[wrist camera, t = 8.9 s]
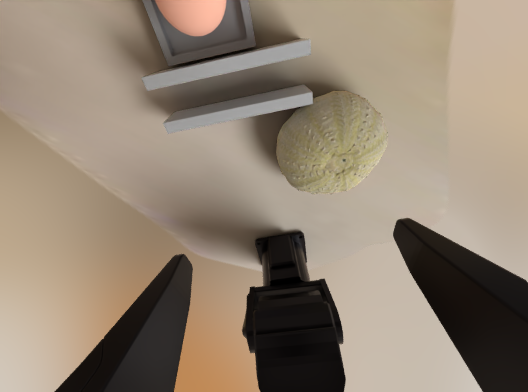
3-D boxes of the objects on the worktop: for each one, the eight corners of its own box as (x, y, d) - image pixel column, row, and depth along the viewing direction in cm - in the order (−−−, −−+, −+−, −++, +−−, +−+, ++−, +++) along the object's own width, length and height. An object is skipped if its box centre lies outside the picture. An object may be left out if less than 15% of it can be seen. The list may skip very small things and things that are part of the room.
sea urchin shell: (252, 120, 17) (351, 118, 11) (306, 83, 20) (400, 69, 15) (282, 203, 22) (358, 229, 17) (320, 162, 26) (393, 173, 20)
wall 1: (301, 52, 16) (310, 54, 13) (162, 83, 16) (147, 91, 14) (301, 38, 15) (310, 39, 13) (157, 71, 16) (141, 77, 14)
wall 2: (304, 94, 17) (312, 104, 15) (178, 121, 18) (167, 133, 16) (303, 84, 17) (312, 91, 15) (174, 111, 18) (162, 123, 15)
